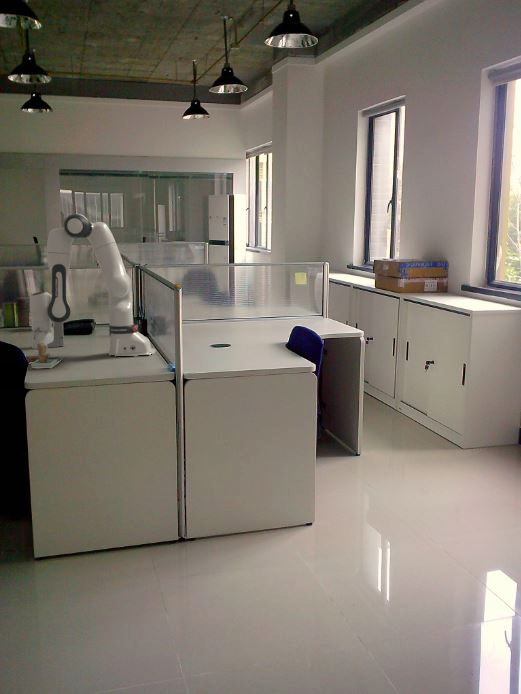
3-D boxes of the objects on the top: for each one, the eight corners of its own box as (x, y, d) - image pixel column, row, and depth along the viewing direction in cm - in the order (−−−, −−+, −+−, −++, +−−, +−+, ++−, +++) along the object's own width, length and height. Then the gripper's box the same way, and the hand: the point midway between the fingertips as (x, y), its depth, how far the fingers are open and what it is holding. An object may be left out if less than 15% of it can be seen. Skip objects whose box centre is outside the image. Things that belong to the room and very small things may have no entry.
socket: (61, 361, 313) (61, 357, 313) (57, 364, 307) (57, 359, 307) (48, 361, 313) (48, 357, 313) (44, 364, 307) (44, 360, 307)
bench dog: (43, 362, 311) (43, 356, 310) (41, 364, 308) (41, 357, 307) (30, 362, 311) (30, 356, 311) (28, 364, 308) (28, 357, 308)
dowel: (48, 364, 304) (44, 342, 301) (46, 366, 301) (43, 344, 299) (41, 365, 303) (38, 343, 301) (40, 366, 300) (36, 344, 298)
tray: (57, 364, 306) (57, 359, 305) (51, 368, 298) (51, 363, 297) (37, 365, 306) (37, 359, 306) (31, 369, 298) (31, 363, 298)
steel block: (50, 358, 319) (49, 353, 319) (48, 361, 314) (47, 355, 314) (37, 359, 319) (36, 354, 318) (34, 361, 314) (34, 356, 313)
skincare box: (47, 347, 345) (44, 317, 342) (48, 345, 352) (45, 315, 349) (64, 346, 348) (62, 316, 344) (64, 344, 354) (62, 314, 351)
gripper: (40, 329, 307) (42, 359, 310) (55, 322, 327) (57, 350, 330) (26, 330, 307) (29, 359, 310) (42, 322, 327) (44, 350, 330)
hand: (44, 354), depth 320 cm, fingers closed
